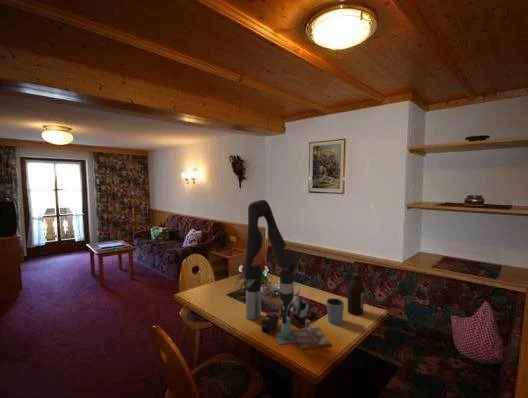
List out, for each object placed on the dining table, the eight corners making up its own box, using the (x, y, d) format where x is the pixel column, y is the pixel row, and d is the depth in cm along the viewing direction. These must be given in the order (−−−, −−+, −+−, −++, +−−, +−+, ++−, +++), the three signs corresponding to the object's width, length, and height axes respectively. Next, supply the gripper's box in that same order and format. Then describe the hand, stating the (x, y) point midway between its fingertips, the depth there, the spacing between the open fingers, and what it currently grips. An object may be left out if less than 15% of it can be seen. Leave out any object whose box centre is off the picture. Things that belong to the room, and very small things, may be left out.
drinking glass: (340, 327, 162) (341, 306, 161) (323, 322, 167) (324, 302, 166) (345, 319, 171) (345, 300, 170) (329, 315, 176) (329, 296, 175)
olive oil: (345, 313, 178) (346, 275, 176) (348, 306, 188) (349, 270, 186) (362, 317, 173) (363, 277, 171) (365, 310, 183) (366, 272, 181)
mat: (274, 334, 154) (274, 333, 154) (291, 332, 156) (291, 331, 156) (278, 344, 145) (278, 343, 145) (297, 342, 147) (297, 341, 147)
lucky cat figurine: (310, 320, 169) (300, 303, 166) (292, 325, 173) (282, 307, 170) (312, 303, 182) (303, 286, 179) (295, 307, 187) (286, 291, 184)
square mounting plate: (291, 332, 156) (291, 318, 156) (318, 329, 160) (319, 315, 159) (301, 349, 141) (301, 334, 140) (330, 345, 144) (331, 330, 143)
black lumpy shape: (272, 334, 154) (272, 322, 154) (260, 332, 157) (260, 320, 156) (278, 326, 163) (279, 314, 163) (267, 323, 166) (267, 312, 166)
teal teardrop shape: (276, 338, 150) (276, 318, 149) (279, 333, 154) (279, 314, 154) (292, 341, 147) (292, 321, 146) (294, 336, 151) (294, 317, 151)
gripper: (282, 284, 157) (282, 311, 158) (276, 294, 143) (275, 324, 145) (296, 285, 155) (295, 314, 156) (290, 296, 141) (290, 327, 143)
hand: (286, 319), depth 150 cm, fingers open, 8 cm apart
